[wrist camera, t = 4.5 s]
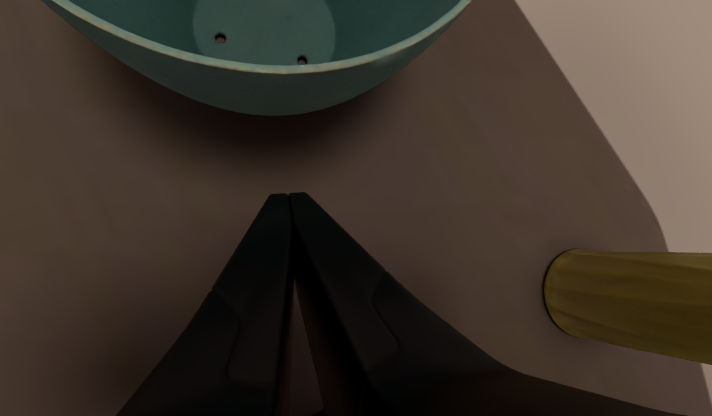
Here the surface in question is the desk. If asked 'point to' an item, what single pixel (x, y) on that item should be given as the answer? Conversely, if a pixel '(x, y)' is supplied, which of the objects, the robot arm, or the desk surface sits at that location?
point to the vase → (635, 300)
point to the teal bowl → (263, 45)
